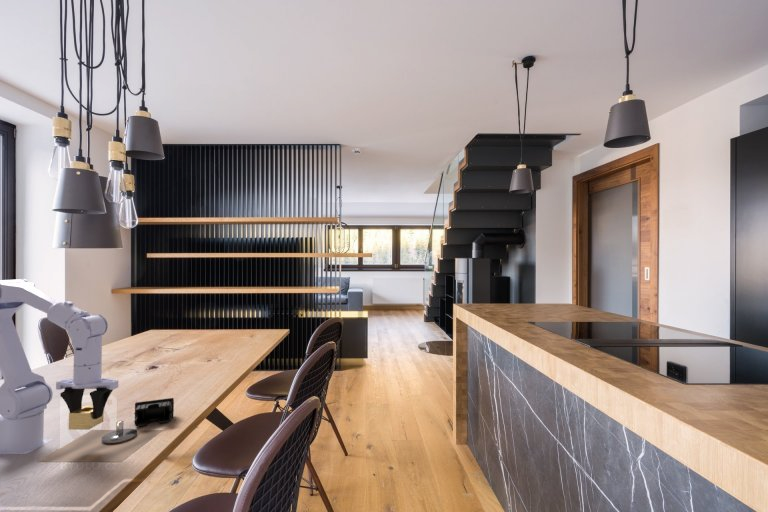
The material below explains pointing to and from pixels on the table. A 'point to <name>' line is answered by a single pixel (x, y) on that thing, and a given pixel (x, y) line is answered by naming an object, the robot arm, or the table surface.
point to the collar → (83, 419)
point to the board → (99, 448)
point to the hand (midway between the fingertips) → (87, 417)
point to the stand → (119, 435)
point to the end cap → (154, 411)
